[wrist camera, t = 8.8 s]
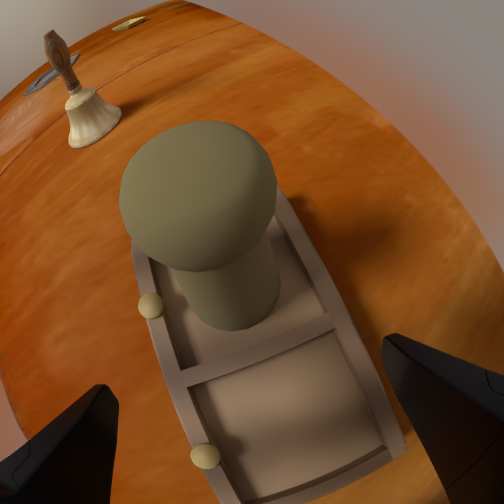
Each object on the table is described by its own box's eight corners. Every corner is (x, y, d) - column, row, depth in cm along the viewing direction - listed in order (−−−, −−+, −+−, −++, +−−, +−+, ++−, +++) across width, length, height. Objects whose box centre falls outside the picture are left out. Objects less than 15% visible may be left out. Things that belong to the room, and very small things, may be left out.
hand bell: (133, 106, 29) (95, 6, 15) (96, 150, 26) (37, 42, 12) (94, 108, 31) (55, 25, 16) (59, 148, 28) (6, 62, 13)
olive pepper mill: (261, 229, 19) (251, 83, 9) (295, 311, 16) (335, 204, 6) (176, 257, 18) (96, 135, 8) (199, 344, 15) (91, 286, 6)
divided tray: (398, 440, 13) (416, 447, 10) (231, 509, 11) (225, 526, 9) (281, 199, 21) (282, 178, 19) (137, 255, 20) (122, 239, 17)
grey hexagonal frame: (82, 51, 52) (81, 49, 51) (67, 73, 44) (66, 71, 43) (39, 76, 51) (38, 75, 50) (19, 105, 42) (17, 103, 42)
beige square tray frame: (130, 24, 59) (129, 19, 57) (147, 20, 57) (146, 15, 55) (112, 34, 56) (110, 29, 54) (129, 30, 54) (127, 25, 52)
